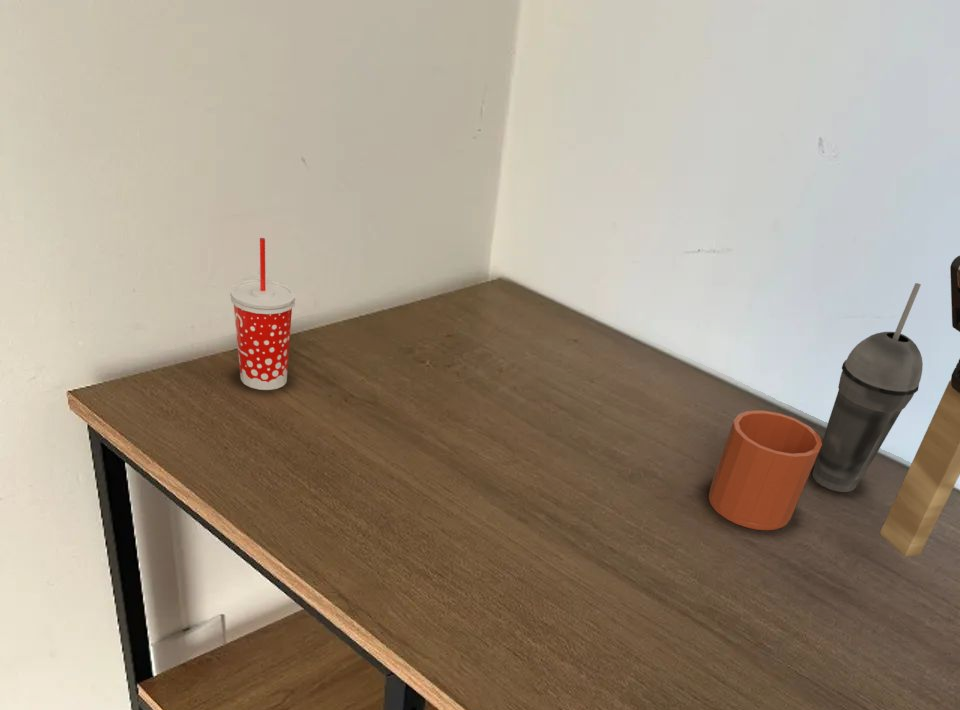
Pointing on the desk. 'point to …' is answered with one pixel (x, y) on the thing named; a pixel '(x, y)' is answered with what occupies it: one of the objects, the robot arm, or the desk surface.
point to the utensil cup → (763, 469)
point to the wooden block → (927, 480)
